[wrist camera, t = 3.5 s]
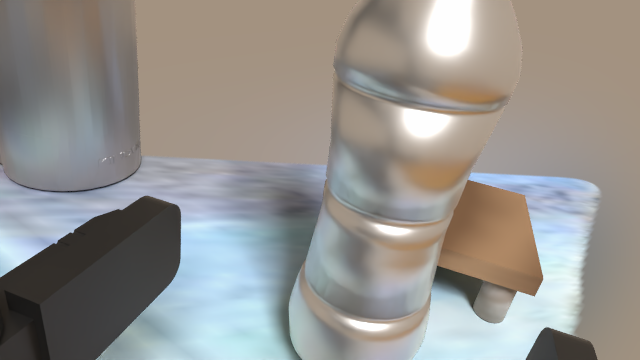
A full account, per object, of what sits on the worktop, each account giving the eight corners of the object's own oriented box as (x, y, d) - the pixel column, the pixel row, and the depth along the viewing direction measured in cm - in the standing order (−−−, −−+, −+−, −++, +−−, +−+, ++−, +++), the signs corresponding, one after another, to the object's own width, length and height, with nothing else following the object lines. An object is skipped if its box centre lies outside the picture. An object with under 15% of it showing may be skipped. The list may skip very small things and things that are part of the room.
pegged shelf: (344, 279, 27) (358, 222, 25) (376, 205, 35) (388, 158, 34) (514, 336, 25) (543, 278, 23) (504, 243, 33) (524, 195, 31)
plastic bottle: (254, 341, 22) (315, -158, 12) (344, 285, 26) (437, -108, 17) (353, 440, 18) (541, -161, 9) (437, 356, 23) (618, -97, 13)
